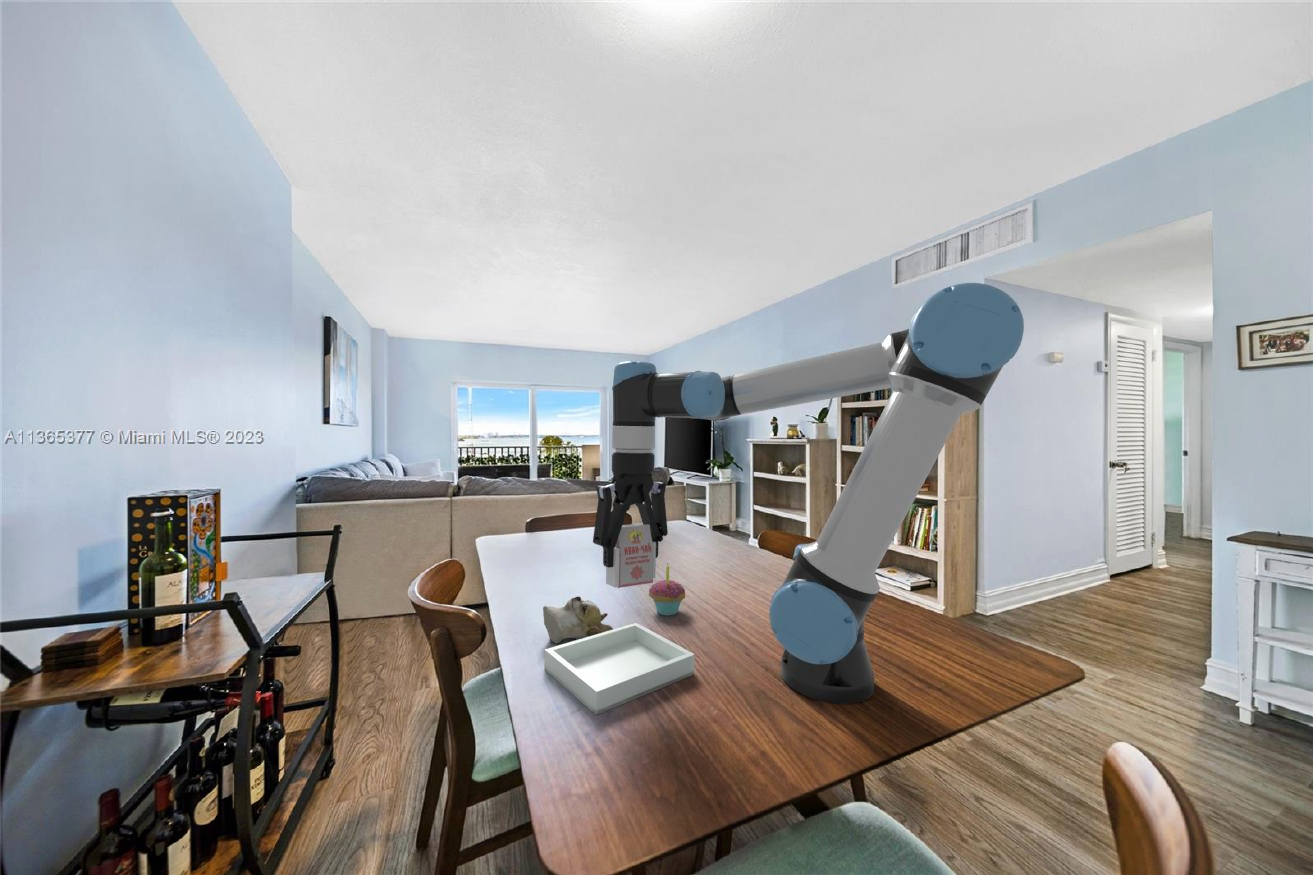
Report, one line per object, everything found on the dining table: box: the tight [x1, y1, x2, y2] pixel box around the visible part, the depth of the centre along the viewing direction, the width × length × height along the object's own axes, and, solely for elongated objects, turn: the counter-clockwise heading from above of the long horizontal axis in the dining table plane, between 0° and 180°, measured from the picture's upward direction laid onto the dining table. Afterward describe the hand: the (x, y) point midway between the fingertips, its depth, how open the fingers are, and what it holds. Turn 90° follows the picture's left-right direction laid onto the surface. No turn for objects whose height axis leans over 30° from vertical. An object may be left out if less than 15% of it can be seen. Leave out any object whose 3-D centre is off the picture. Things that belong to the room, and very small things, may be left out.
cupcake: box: [648, 562, 686, 616], centre depth 113 cm, size 9×8×12 cm
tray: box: [543, 622, 696, 716], centre depth 84 cm, size 17×20×4 cm
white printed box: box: [615, 524, 654, 589], centre depth 85 cm, size 4×7×10 cm, turn 118°
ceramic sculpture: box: [542, 596, 614, 644], centre depth 98 cm, size 11×9×15 cm
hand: (631, 580), depth 85 cm, fingers closed on white printed box, 7 cm apart
